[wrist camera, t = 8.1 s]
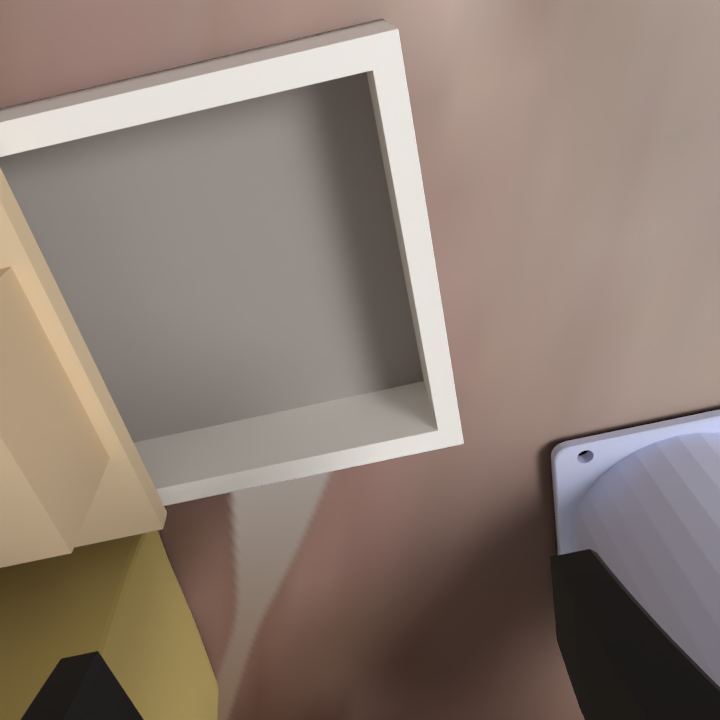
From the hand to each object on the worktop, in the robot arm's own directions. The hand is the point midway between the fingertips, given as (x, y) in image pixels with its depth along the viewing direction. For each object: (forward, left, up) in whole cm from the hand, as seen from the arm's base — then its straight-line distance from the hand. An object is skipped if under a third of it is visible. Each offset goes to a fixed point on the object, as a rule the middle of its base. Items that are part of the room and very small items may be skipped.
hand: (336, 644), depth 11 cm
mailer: (+3, -3, -10) cm, 11 cm away
